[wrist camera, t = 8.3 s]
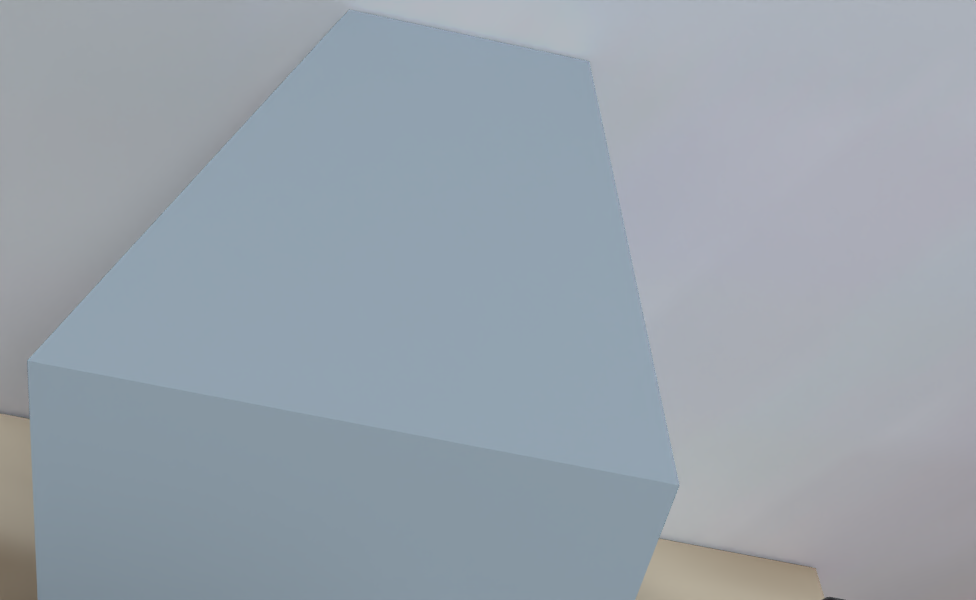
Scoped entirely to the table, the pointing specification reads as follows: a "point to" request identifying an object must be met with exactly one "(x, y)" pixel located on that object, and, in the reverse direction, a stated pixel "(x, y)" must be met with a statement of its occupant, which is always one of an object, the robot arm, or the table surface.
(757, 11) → the table surface
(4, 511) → the maple rail
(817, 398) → the table surface
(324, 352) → the pale blue plank
